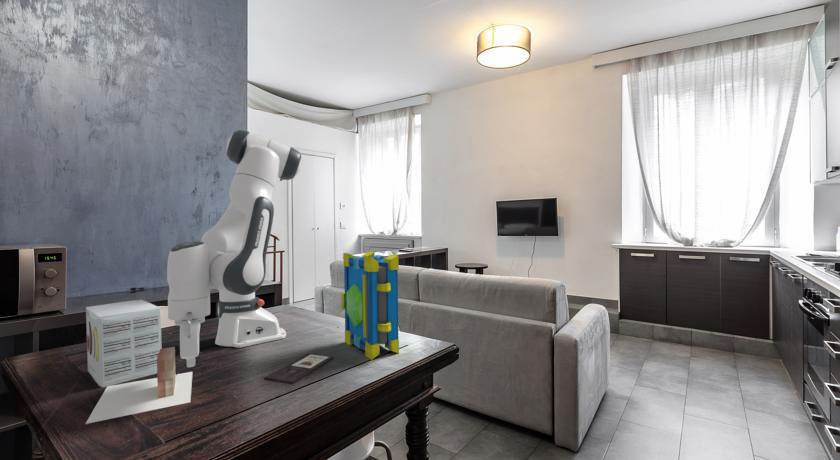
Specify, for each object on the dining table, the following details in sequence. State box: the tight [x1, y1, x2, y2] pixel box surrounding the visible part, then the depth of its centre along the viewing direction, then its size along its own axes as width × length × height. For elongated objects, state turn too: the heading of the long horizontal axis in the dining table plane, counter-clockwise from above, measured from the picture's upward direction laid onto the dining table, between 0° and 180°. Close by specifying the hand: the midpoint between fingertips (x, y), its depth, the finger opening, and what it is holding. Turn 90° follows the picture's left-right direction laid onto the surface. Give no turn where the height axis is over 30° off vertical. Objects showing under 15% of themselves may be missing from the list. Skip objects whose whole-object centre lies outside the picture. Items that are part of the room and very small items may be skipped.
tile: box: [156, 346, 176, 398], centre depth 92 cm, size 3×8×9 cm, turn 29°
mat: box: [85, 371, 193, 425], centre depth 90 cm, size 18×20×1 cm
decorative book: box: [340, 250, 400, 361], centre depth 122 cm, size 14×23×30 cm, turn 33°
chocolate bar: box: [263, 353, 334, 385], centre depth 106 cm, size 9×1×18 cm
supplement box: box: [85, 299, 163, 388], centre depth 104 cm, size 17×13×18 cm
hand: (191, 365), depth 94 cm, fingers closed
